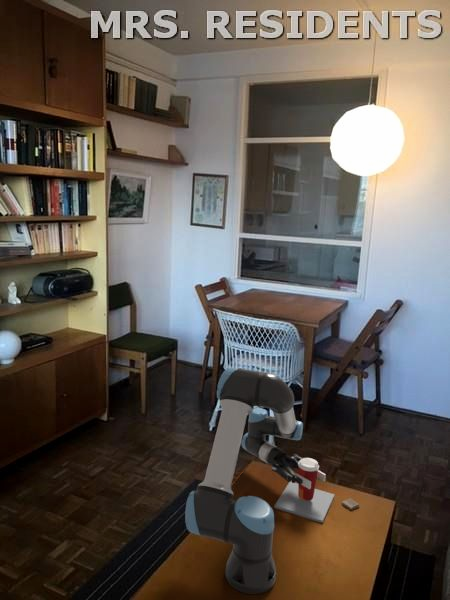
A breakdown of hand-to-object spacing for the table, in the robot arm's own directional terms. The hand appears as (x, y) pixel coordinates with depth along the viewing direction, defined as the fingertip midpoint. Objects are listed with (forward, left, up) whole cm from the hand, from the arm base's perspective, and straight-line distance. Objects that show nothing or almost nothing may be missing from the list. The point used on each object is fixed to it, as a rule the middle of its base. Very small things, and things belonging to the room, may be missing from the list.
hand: (317, 481), depth 179 cm
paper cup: (-2, +4, -9) cm, 10 cm away
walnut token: (+14, 0, -11) cm, 18 cm away
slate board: (-2, +4, -11) cm, 12 cm away
